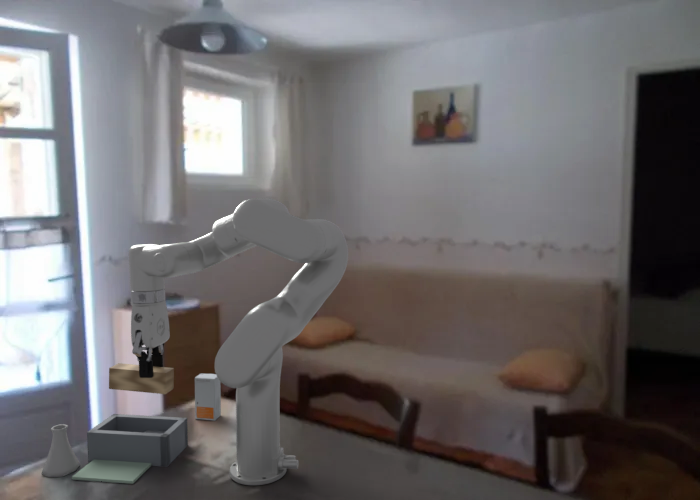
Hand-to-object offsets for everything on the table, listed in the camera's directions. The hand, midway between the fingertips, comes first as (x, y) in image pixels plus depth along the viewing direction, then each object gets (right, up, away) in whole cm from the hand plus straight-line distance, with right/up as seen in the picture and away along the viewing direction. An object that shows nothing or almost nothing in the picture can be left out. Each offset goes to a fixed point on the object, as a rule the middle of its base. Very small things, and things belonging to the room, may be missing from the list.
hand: (151, 373), depth 125 cm
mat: (-6, -20, -7) cm, 22 cm away
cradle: (-3, -20, +2) cm, 20 cm away
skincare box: (+7, -18, +24) cm, 31 cm away
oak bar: (-3, -4, +1) cm, 5 cm away
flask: (-18, -20, -6) cm, 28 cm away
